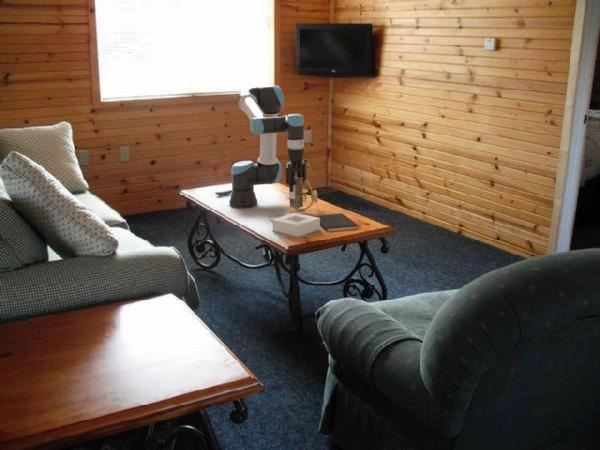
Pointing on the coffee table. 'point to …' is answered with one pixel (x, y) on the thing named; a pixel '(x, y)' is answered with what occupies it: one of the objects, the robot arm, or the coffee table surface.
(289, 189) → the robot arm
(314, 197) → the wall sconce
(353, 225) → the hardcover book
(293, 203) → the walnut peg
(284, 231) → the grey well block
